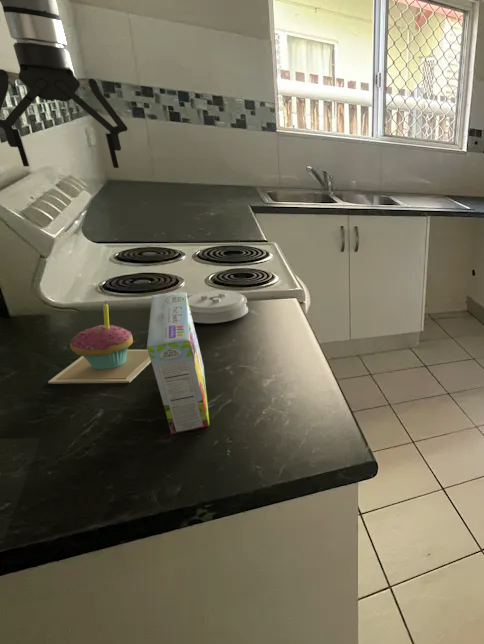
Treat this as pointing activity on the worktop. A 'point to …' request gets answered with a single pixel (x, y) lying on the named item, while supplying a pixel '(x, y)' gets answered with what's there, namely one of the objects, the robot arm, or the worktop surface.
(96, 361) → the cupcake
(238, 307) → the lid
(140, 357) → the tan square board
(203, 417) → the snack box
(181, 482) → the worktop surface
